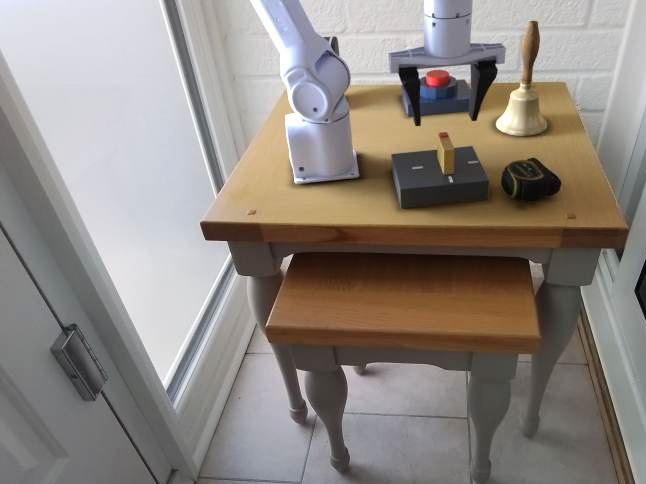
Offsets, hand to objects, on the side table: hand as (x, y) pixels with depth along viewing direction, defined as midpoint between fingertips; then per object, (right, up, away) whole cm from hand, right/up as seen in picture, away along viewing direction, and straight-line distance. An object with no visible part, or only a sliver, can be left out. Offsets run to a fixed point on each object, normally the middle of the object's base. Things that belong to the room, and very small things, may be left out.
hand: (445, 120), depth 73 cm
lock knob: (0, -6, +2) cm, 6 cm away
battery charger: (-18, +11, +27) cm, 34 cm away
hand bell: (+15, +4, +16) cm, 22 cm away
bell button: (+1, +13, +22) cm, 26 cm away
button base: (+1, +11, +25) cm, 27 cm away
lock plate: (-1, -8, +4) cm, 9 cm away
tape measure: (+12, -10, +1) cm, 15 cm away
